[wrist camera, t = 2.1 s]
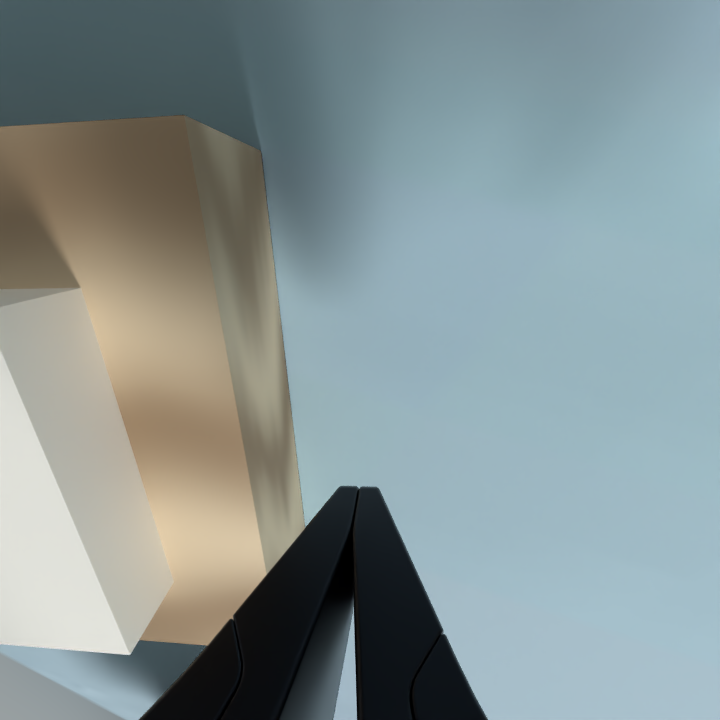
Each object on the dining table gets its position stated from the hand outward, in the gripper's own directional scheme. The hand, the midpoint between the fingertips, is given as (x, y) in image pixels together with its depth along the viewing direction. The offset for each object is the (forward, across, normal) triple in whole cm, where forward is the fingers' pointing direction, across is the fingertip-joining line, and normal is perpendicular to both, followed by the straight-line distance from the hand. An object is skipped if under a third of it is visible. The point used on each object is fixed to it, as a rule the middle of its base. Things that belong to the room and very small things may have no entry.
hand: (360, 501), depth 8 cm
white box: (+1, +9, 0) cm, 9 cm away
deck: (+5, +10, 0) cm, 11 cm away
